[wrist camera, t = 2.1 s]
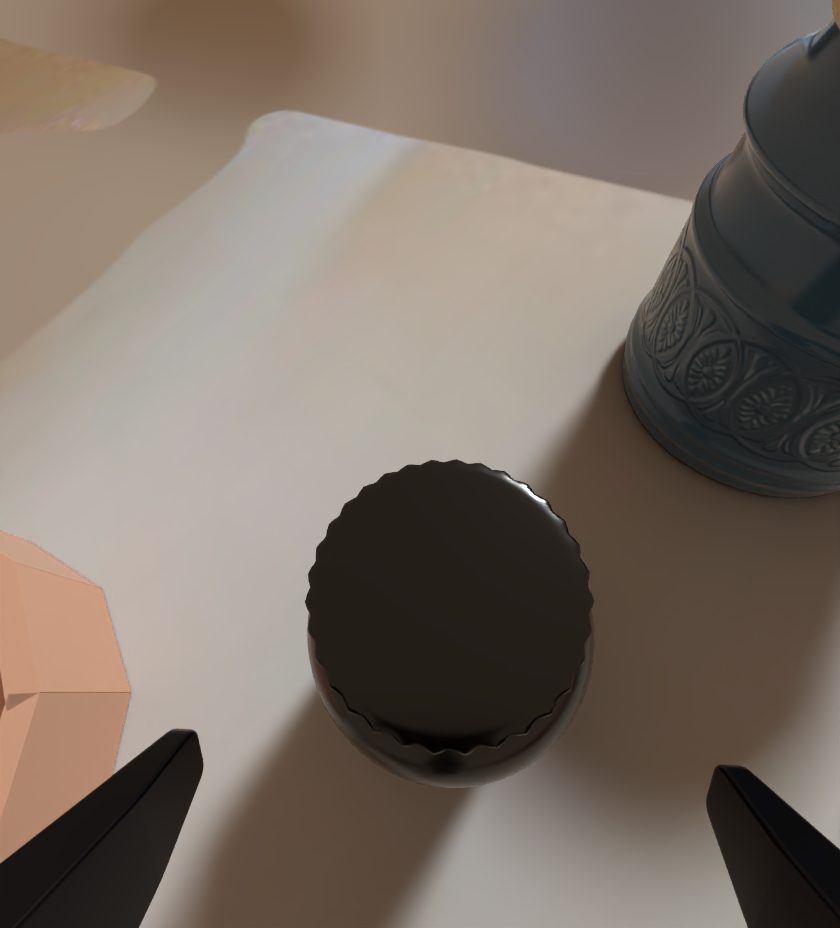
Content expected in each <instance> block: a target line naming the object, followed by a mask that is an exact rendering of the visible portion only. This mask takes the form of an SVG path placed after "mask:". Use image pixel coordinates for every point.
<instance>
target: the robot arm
mask: <svg viewBox="0 0 840 928" xmlns="http://www.w3.org/2000/svg"><path fill="white" fill-rule="evenodd" d="M202 772H203V758H202V753H201V748H200V744H199V739H198V735H197V733H196V732H195V731H194V730H190V729H173V730H171V731H169V732H167V733H166V734H165V735H163V736H162V737H161V738H159V739H158V740H157V741H156V742H154V743H153V744H152V745H151V746H149V747H148V748H147V749H145V750H144V751H143V752H142V753H140V754H139V755H138V756H137V757H135V758H134V759H133V760H131V761H130V762H129V763H128V764H126V765H125V766H124V767H122V768H121V769H120V770H119V771H117V772H116V773H115V774H114V775H112V776H111V777H110V778H108V779H107V780H106V781H105V782H103V783H102V784H101V785H99V786H98V787H97V788H96V789H94V790H93V791H92V792H91V793H89V794H88V795H87V796H85V797H84V798H83V799H82V800H80V801H79V802H78V803H76V804H75V805H74V806H73V807H71V808H70V809H69V810H68V811H66V812H65V813H64V814H62V815H61V816H60V817H59V818H57V819H56V820H55V821H54V822H52V823H51V824H50V825H48V826H47V827H46V828H45V829H43V830H42V831H41V832H39V833H38V834H37V835H36V836H34V837H33V838H32V839H31V840H29V841H28V842H27V843H25V844H24V845H23V846H22V847H20V848H19V849H18V850H16V851H15V852H14V853H13V854H11V855H10V856H9V857H8V858H6V859H5V860H4V861H2V862H1V863H0V928H139V926H140V924H141V922H142V920H143V918H144V916H145V914H146V912H147V910H148V907H149V905H150V903H151V901H152V899H153V897H154V895H155V893H156V890H157V888H158V886H159V884H160V882H161V879H162V877H163V874H164V872H165V870H166V867H167V865H168V862H169V860H170V857H171V854H172V852H173V849H174V847H175V844H176V841H177V839H178V836H179V834H180V831H181V828H182V826H183V823H184V821H185V818H186V815H187V813H188V810H189V808H190V805H191V802H192V800H193V797H194V795H195V792H196V789H197V787H198V784H199V782H200V779H201V776H202ZM706 806H707V811H708V815H709V818H710V821H711V824H712V827H713V830H714V833H715V836H716V838H717V841H718V844H719V847H720V850H721V853H722V856H723V859H724V861H725V864H726V867H727V870H728V873H729V876H730V879H731V881H732V884H733V887H734V890H735V893H736V896H737V899H738V902H739V904H740V907H741V910H742V913H743V916H744V918H745V921H746V924H747V927H748V928H840V849H839V848H838V847H836V846H835V845H834V844H833V843H832V842H831V841H830V840H828V839H827V838H826V837H825V836H824V835H823V834H822V833H820V832H819V831H818V830H817V829H816V828H815V827H814V826H812V825H811V824H810V823H809V822H808V821H807V820H806V819H804V818H803V817H802V816H801V815H800V814H799V813H798V812H796V811H795V810H794V809H793V808H792V807H791V806H790V805H788V804H787V803H786V802H785V801H784V800H783V799H782V798H780V797H779V796H778V795H777V794H776V793H775V792H774V791H772V790H771V789H770V788H769V787H768V786H767V785H766V784H764V783H763V782H762V781H761V780H760V779H759V778H758V777H756V776H755V775H754V774H753V773H752V772H751V771H749V770H748V769H746V768H745V767H742V766H737V765H718V766H717V767H715V769H714V772H713V776H712V779H711V783H710V787H709V790H708V794H707V798H706Z"/></svg>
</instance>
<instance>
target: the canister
mask: <svg viewBox="0 0 840 928" xmlns="http://www.w3.org/2000/svg"><path fill="white" fill-rule="evenodd" d="M832 10H833V15H834V19H833V20H832V21H831V22H830V23H829V24H828V25H827V26H825V27H822V28H820V29H818V30H815V31H813V32H811V33H809V34H806V35H804V36H802V37H800V38H798V39H796V40H794V41H793V42H791V43H789V44H787V45H786V46H784V47H783V48H782V49H780V50H779V51H777V52H776V53H775V54H773V55H772V56H771V57H770V58H769V59H767V61H766V62H765V63H764V64H763V65H762V66H761V67H760V68H759V69H758V71H757V72H756V74H755V75H754V76H753V78H752V80H751V82H750V84H749V86H748V88H747V91H746V94H745V97H744V103H743V122H744V129H745V132H744V134H743V135H742V137H741V139H740V140H739V142H738V144H737V145H736V147H735V149H734V150H733V152H731V153H729V154H728V155H727V156H725V157H724V158H723V159H722V160H720V161H719V162H718V163H717V164H716V165H715V166H714V167H713V168H712V169H711V170H710V171H709V173H708V174H707V175H706V177H705V178H704V180H703V181H702V183H701V185H700V187H699V189H698V190H697V193H696V196H695V198H694V201H693V206H692V212H691V214H690V216H689V218H688V220H687V222H686V224H685V226H684V228H683V230H682V232H681V234H680V236H679V238H678V240H677V242H676V244H675V246H674V248H673V249H672V251H671V253H670V255H669V257H668V259H667V261H666V263H665V265H664V267H663V269H662V271H661V273H660V275H659V277H658V279H657V281H656V283H655V285H654V287H653V289H652V290H651V291H650V292H649V293H648V294H647V295H646V297H645V298H644V299H643V301H642V303H641V304H640V306H639V308H638V310H637V312H636V315H635V317H634V319H633V321H632V323H631V325H630V328H629V331H628V335H627V339H626V347H625V351H624V355H623V363H622V373H623V381H624V386H625V390H626V393H627V396H628V399H629V401H630V403H631V406H632V408H633V410H634V411H635V413H636V415H637V417H638V418H639V419H640V421H641V422H642V424H643V425H644V426H645V428H646V429H647V430H648V432H649V433H650V434H651V435H652V436H653V437H654V438H655V439H656V440H657V441H658V442H659V443H660V444H661V445H662V446H663V447H664V448H665V449H666V450H668V451H669V452H670V453H671V454H672V455H674V456H675V457H676V458H678V459H679V460H680V461H682V462H683V463H685V464H686V465H688V466H689V467H691V468H693V469H694V470H696V471H698V472H700V473H701V474H703V475H705V476H707V477H709V478H711V479H714V480H716V481H718V482H721V483H723V484H726V485H729V486H731V487H734V488H737V489H741V490H744V491H748V492H752V493H756V494H761V495H767V496H775V497H790V498H799V497H813V496H820V495H825V494H830V493H833V492H837V491H840V0H832Z"/></svg>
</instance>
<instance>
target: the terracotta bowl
mask: <svg viewBox="0 0 840 928" xmlns="http://www.w3.org/2000/svg"><path fill="white" fill-rule="evenodd" d="M130 692H131V690H130V686H129V683H128V679H127V676H126V672H125V669H124V665H123V661H122V658H121V654H120V651H119V647H118V644H117V640H116V637H115V633H114V629H113V626H112V622H111V619H110V615H109V612H108V608H107V605H106V601H105V598H104V594H103V590H102V588H100V587H99V586H97V585H96V584H94V583H93V582H91V581H90V580H88V579H87V578H85V577H84V576H82V575H81V574H79V573H78V572H76V571H75V570H73V569H72V568H70V567H69V566H67V565H66V564H64V563H63V562H61V561H60V560H58V559H57V558H55V557H54V556H52V555H51V554H49V553H48V552H46V551H45V550H43V549H42V548H40V547H39V546H37V545H36V544H34V543H33V542H31V541H29V540H26V539H23V538H21V537H18V536H15V535H12V534H10V533H7V532H4V531H1V530H0V863H1V862H2V861H4V860H5V859H6V858H8V857H9V856H10V855H11V854H13V853H14V852H15V851H16V850H18V849H19V848H20V847H22V846H23V845H24V844H25V843H27V842H28V841H29V840H31V839H32V838H33V837H34V836H36V835H37V834H38V833H39V832H41V831H42V830H43V829H45V828H46V827H47V826H48V825H50V824H51V823H52V822H54V821H55V820H56V819H57V818H59V817H60V816H61V815H62V814H64V813H65V812H66V811H68V810H69V809H70V808H71V807H73V806H74V805H75V804H76V803H78V802H79V801H80V800H82V799H83V798H84V797H85V796H87V795H88V794H89V793H91V792H92V791H93V790H94V789H96V788H97V787H98V786H99V785H101V784H102V783H103V782H105V781H106V780H107V779H108V778H110V777H111V776H112V775H113V770H114V766H115V761H116V757H117V753H118V748H119V744H120V739H121V735H122V730H123V726H124V722H125V717H126V713H127V708H128V704H129V700H130V695H131V693H130Z"/></svg>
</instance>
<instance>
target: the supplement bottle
mask: <svg viewBox="0 0 840 928" xmlns="http://www.w3.org/2000/svg"><path fill="white" fill-rule="evenodd" d="M308 578H309V584H310V589H309V591H308V594H307V597H306V600H305V604H306V607H307V609H308V611H309V614H308V627H307V637H308V651H309V659H310V664H311V669H312V673H313V677H314V680H315V683H316V686H317V689H318V692H319V694H320V696H321V699H322V701H323V703H324V705H325V707H326V709H327V711H328V712H329V714H330V716H331V718H332V719H333V721H334V722H335V724H336V725H337V727H338V728H339V729H340V731H341V732H342V733H343V734H344V735H345V737H346V738H347V739H348V740H349V741H350V742H351V744H353V745H354V746H355V747H356V748H357V749H358V750H359V751H360V752H361V753H362V754H363V755H365V756H366V757H367V758H369V759H370V760H371V761H373V762H374V763H375V764H377V765H378V766H380V767H382V768H383V769H385V770H387V771H388V772H390V773H393V774H395V775H397V776H399V777H401V778H404V779H407V780H410V781H413V782H416V783H419V784H424V785H429V786H434V787H444V788H466V787H473V786H480V785H485V784H488V783H492V782H495V781H499V780H501V779H504V778H506V777H508V776H511V775H513V774H515V773H517V772H519V771H520V770H522V769H524V768H526V767H527V766H529V765H530V764H532V763H533V762H534V761H536V760H537V759H538V758H540V757H541V756H542V755H543V754H544V753H545V752H546V751H548V750H549V749H550V748H551V747H552V746H553V745H554V744H555V742H556V741H557V740H558V739H559V738H560V737H561V735H562V734H563V733H564V732H565V730H566V729H567V727H568V726H569V724H570V723H571V721H572V720H573V718H574V716H575V714H576V712H577V710H578V709H579V707H580V704H581V702H582V699H583V697H584V694H585V692H586V689H587V685H588V682H589V678H590V674H591V669H592V664H593V655H594V624H593V615H592V610H591V609H592V606H593V603H594V599H593V597H592V594H591V592H590V590H589V588H588V581H589V570H588V569H587V567H586V565H585V564H584V563H583V561H582V560H581V558H580V546H579V544H578V543H577V542H576V540H575V539H574V538H573V537H572V536H570V535H569V532H568V528H567V525H566V522H565V520H563V519H562V518H561V517H560V516H558V515H557V514H555V513H554V512H553V511H552V508H551V506H550V504H549V502H548V500H546V499H544V498H542V497H540V496H538V495H536V494H534V492H533V491H532V489H531V488H530V487H529V485H528V484H526V483H523V482H520V481H516V480H514V479H512V478H511V477H510V475H509V474H507V473H506V472H505V471H499V470H491V469H490V468H488V467H487V466H485V465H483V464H481V463H474V464H466V463H464V462H462V461H459V460H457V459H456V460H451V461H448V462H439V461H435V460H430V461H428V462H426V463H424V464H422V465H407V466H405V467H403V468H402V469H401V470H399V471H398V472H392V473H386V474H384V475H383V476H382V477H381V478H380V479H379V480H378V481H377V482H376V483H374V484H370V485H367V486H365V487H363V488H362V490H361V491H360V492H359V494H358V496H357V497H356V498H354V499H352V500H350V501H349V502H347V503H345V504H344V506H343V508H342V511H341V513H340V516H339V517H337V518H336V519H334V520H333V521H332V522H331V523H330V524H329V526H328V529H327V534H326V537H325V539H324V540H323V541H322V542H321V543H320V544H319V545H318V546H317V548H316V562H315V564H314V565H313V566H312V568H311V569H310V571H309V573H308Z"/></svg>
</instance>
